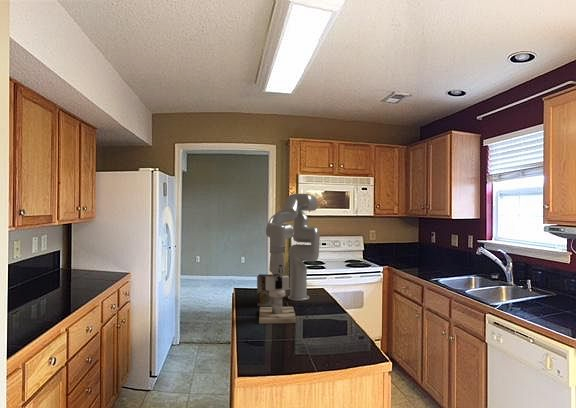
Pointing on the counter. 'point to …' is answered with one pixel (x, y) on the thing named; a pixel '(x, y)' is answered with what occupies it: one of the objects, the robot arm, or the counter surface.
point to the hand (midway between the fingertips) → (277, 287)
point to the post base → (272, 317)
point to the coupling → (271, 286)
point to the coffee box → (263, 291)
